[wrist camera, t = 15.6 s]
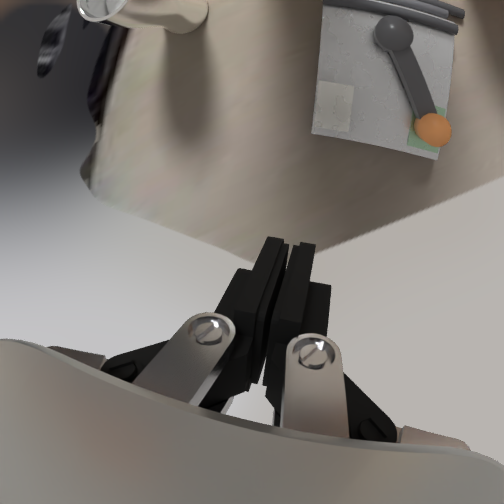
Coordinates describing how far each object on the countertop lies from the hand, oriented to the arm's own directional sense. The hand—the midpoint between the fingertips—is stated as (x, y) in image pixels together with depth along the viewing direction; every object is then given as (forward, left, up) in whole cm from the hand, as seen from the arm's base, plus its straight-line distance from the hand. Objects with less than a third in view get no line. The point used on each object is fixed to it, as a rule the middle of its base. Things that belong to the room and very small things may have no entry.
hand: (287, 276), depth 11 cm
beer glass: (-15, -17, -27) cm, 35 cm away
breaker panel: (-9, +6, -26) cm, 28 cm away
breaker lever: (-9, +8, -24) cm, 27 cm away
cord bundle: (-17, +6, -26) cm, 32 cm away
